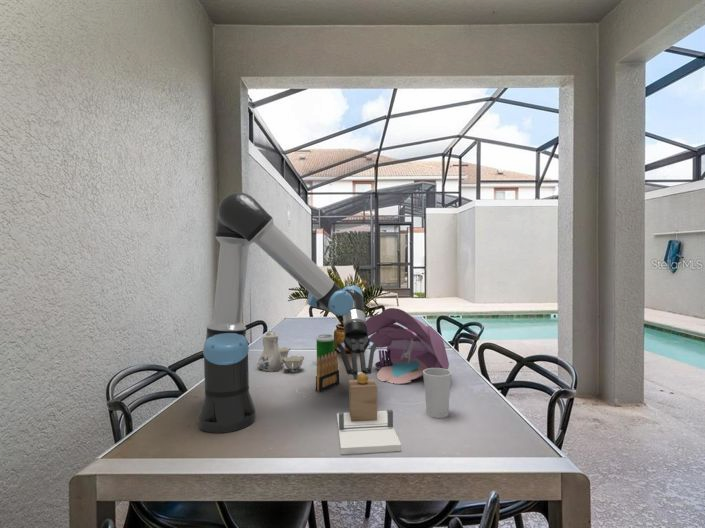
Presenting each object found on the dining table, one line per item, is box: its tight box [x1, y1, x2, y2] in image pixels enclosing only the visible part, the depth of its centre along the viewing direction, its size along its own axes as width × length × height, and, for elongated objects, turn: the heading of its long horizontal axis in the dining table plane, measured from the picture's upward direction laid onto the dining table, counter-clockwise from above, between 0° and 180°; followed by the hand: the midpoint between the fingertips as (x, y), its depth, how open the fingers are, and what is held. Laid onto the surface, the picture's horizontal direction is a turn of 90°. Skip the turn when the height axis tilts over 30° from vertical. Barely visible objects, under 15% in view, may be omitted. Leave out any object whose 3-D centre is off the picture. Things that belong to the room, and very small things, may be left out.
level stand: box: [336, 409, 402, 455], centre depth 100 cm, size 20×14×6 cm
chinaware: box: [257, 328, 305, 373], centre depth 162 cm, size 28×17×17 cm, turn 33°
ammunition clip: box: [315, 350, 340, 393], centre depth 135 cm, size 11×2×12 cm, turn 143°
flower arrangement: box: [366, 307, 450, 385], centre depth 146 cm, size 35×24×28 cm
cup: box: [422, 368, 452, 419], centre depth 112 cm, size 8×8×12 cm
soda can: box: [316, 333, 335, 361], centre depth 165 cm, size 8×8×12 cm
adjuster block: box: [348, 373, 378, 421], centre depth 107 cm, size 6×7×12 cm
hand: (361, 395), depth 112 cm, fingers closed
